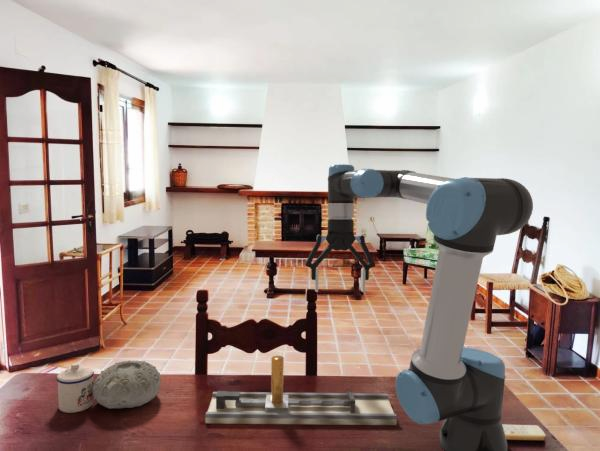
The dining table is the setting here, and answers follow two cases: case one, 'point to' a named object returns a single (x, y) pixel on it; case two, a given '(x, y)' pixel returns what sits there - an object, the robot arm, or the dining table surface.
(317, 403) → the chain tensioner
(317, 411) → the rail
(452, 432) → the robot arm
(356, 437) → the dining table surface
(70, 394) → the teacup with lid
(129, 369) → the grey rounded lump
